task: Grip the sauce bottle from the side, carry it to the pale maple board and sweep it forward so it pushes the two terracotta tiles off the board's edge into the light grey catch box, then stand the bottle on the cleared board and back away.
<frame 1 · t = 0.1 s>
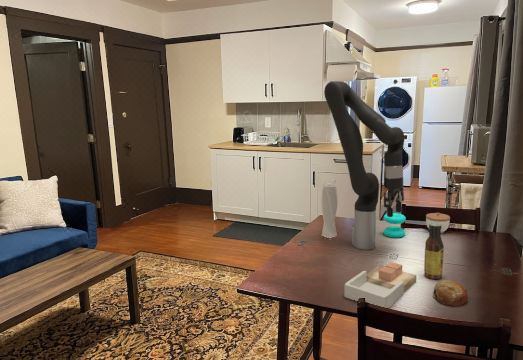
hand: (394, 214, 162), 17 cm above the table, tool pointing down, fingers open, 8 cm apart
skyscraper: (329, 237, 187), on the table
sauce bottle: (432, 276, 143), on the table
board: (390, 281, 139), on the table
lidded jar: (437, 231, 191), on the table
tile a: (393, 273, 141), point 2 cm above the table, touching board
bread roll: (450, 299, 127), on the table
tile b: (387, 277, 137), point 2 cm above the table, touching board
teal rounded shape: (394, 235, 187), on the table
catch box: (374, 295, 130), on the table
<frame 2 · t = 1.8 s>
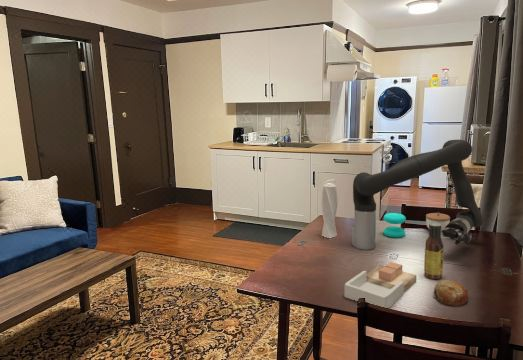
hand: (444, 239, 148), 11 cm above the table, tool horizontal, fingers open, 8 cm apart
nothing on the table moved.
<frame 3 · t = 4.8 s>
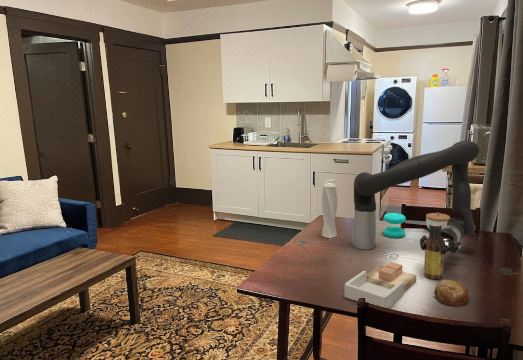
hand: (432, 249, 139), 11 cm above the table, tool horizontal, fingers closed on sauce bottle, 6 cm apart
sauce bottle: (432, 276, 143), on the table, touching gripper
everything else where it was.
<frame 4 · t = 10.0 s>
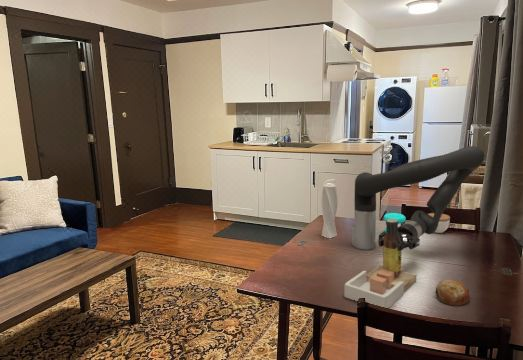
hand: (389, 246, 134), 14 cm above the table, tool horizontal, fingers closed on sauce bottle, 6 cm apart
sauce bottle: (392, 273, 139), point 3 cm above the table, touching gripper
tile a: (385, 280, 135), point 2 cm above the table, touching board
tile b: (380, 283, 132), point 3 cm above the table, tilted 92°, touching catch box
everything else where it was.
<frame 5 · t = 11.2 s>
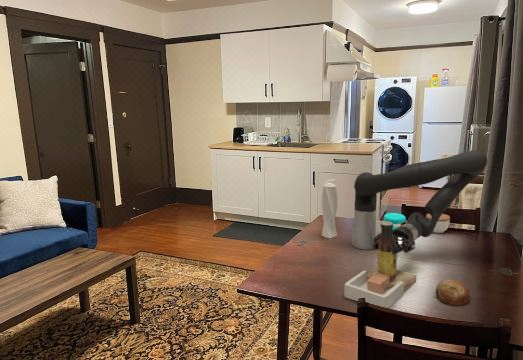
hand: (384, 249, 132), 14 cm above the table, tool horizontal, fingers closed on sauce bottle, 6 cm apart
sauce bottle: (387, 276, 137), point 3 cm above the table, touching gripper, tile a
tile a: (380, 284, 133), point 2 cm above the table, touching board, sauce bottle, tile b
tile b: (377, 284, 131), point 3 cm above the table, tilted 94°, touching catch box, tile a
everything else where it was.
when the fingers open (15 cm above the table, at t = 13.0 s): sauce bottle drops 1 cm, resting on board.
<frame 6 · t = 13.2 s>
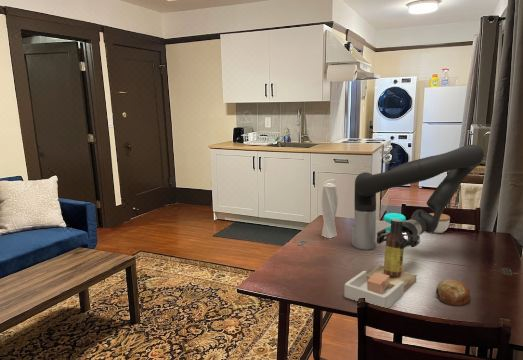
hand: (389, 243, 135), 15 cm above the table, tool horizontal, fingers open, 7 cm apart
sauce bottle: (392, 274, 139), point 3 cm above the table, touching board
tile a: (380, 284, 133), point 2 cm above the table, touching board, tile b
everything else where it was.
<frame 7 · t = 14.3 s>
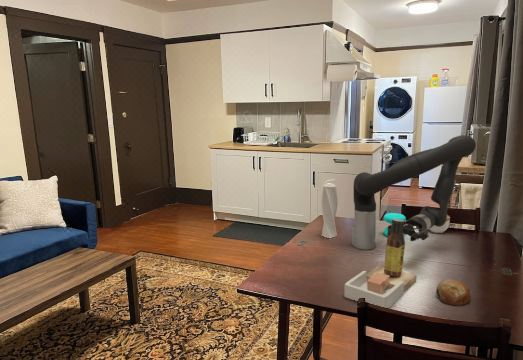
hand: (400, 236, 142), 15 cm above the table, tool horizontal, fingers open, 8 cm apart
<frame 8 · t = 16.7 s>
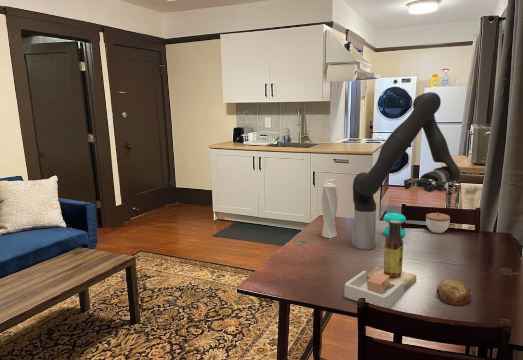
hand: (417, 187, 143), 32 cm above the table, tool horizontal, fingers open, 8 cm apart
at the end: tile a inside the target area (4.6 cm from its centre), point 2.3 cm above the table; tile b inside the target area (2.3 cm from its centre), point 3.0 cm above the table; sauce bottle tilted 3° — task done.
